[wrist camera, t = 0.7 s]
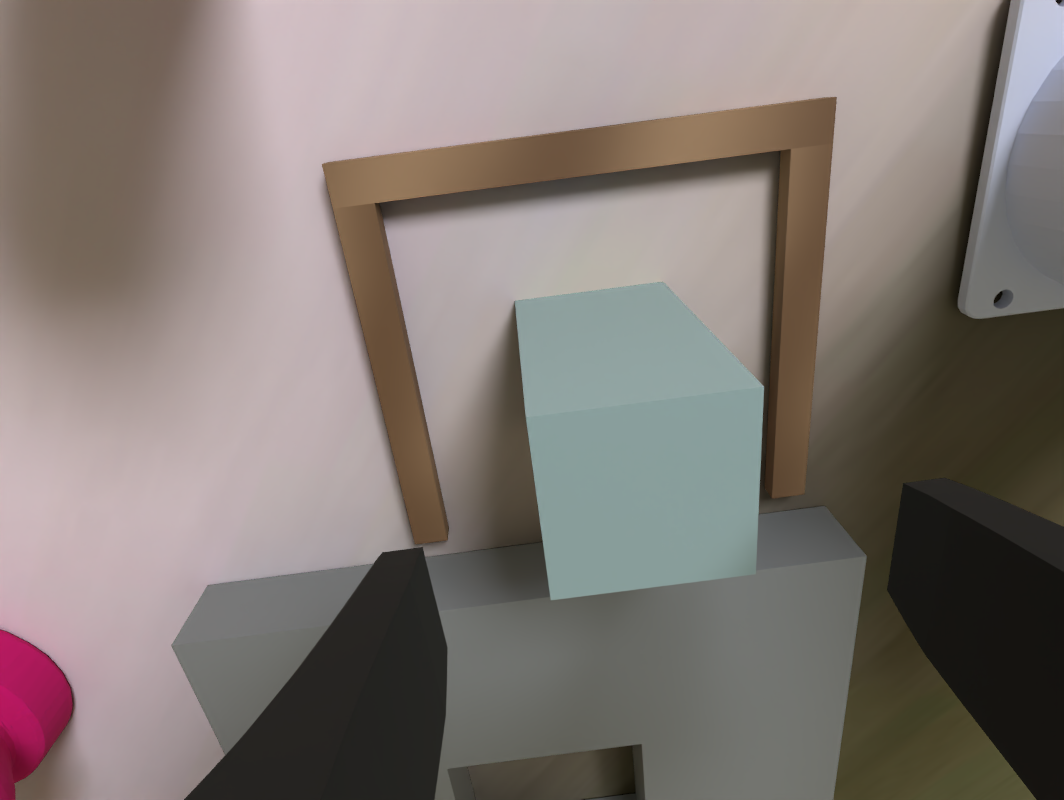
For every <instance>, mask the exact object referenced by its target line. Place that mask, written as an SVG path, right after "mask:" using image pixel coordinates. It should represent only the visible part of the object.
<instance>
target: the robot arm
mask: <svg viewBox="0 0 1064 800" xmlns="http://www.w3.org/2000/svg"><path fill="white" fill-rule="evenodd" d="M1000 291H1002V292H1003V294H1002V296H1001V299H1000V300H999V301H998V302H996V303H994V298H995V296H996V295H997V294H998V293H999V292H1000ZM958 308H959V310H960V312H961V313H963V314H965V315H967V316H969V317H971V318H974V319H983V318H991V317H999V316H1006V315H1014V314H1022V313H1030V312H1037V311H1045V310H1053V309H1061V308H1064V0H1062V2H1061V3H1060V4H1059V5H1058V4H1057V2H1056V0H1011V3H1010V9H1009V14H1008V20H1007V26H1006V31H1005V37H1004V42H1003V48H1002V54H1001V59H1000V65H999V71H998V76H997V82H996V88H995V93H994V99H993V105H992V110H991V116H990V121H989V127H988V133H987V138H986V144H985V150H984V155H983V161H982V167H981V172H980V178H979V183H978V189H977V195H976V200H975V206H974V212H973V217H972V223H971V229H970V234H969V240H968V246H967V251H966V257H965V262H964V268H963V274H962V279H961V285H960V291H959V296H958ZM887 591H888V592H889V594H890V596H891V598H892V599H893V601H894V603H895V605H896V607H897V608H898V610H899V612H900V614H901V615H902V617H903V619H904V621H905V623H906V624H907V626H908V628H909V629H910V631H911V632H912V634H913V636H914V637H915V639H916V641H917V642H918V644H919V646H920V647H921V649H922V650H923V652H924V653H925V655H926V656H927V658H928V659H929V660H930V662H931V663H932V664H933V666H934V667H935V668H936V670H937V671H938V672H939V674H940V675H941V676H942V678H943V679H944V680H945V681H946V683H947V684H948V685H949V687H950V688H951V689H952V691H953V692H954V693H955V695H956V696H957V697H958V699H959V700H960V701H961V702H962V704H963V705H964V706H965V708H966V709H967V710H968V712H969V713H970V714H971V715H972V717H973V718H974V719H975V721H976V722H977V723H978V724H979V726H980V727H981V728H982V730H983V731H984V732H985V733H986V735H987V736H988V737H989V739H990V740H991V741H992V742H993V744H994V745H995V746H996V748H997V749H998V750H999V752H1000V753H1001V754H1002V755H1003V757H1004V758H1005V759H1006V761H1007V762H1008V763H1009V764H1010V766H1011V767H1012V768H1013V770H1014V771H1015V772H1016V773H1017V775H1018V776H1019V777H1020V779H1021V780H1022V781H1023V783H1024V784H1025V785H1026V786H1027V788H1028V789H1029V790H1030V792H1031V793H1032V794H1033V795H1034V797H1035V798H1036V799H1037V800H1064V527H1063V526H1060V525H1058V524H1056V523H1054V522H1051V521H1049V520H1047V519H1044V518H1042V517H1040V516H1037V515H1035V514H1033V513H1031V512H1028V511H1026V510H1024V509H1021V508H1019V507H1017V506H1014V505H1012V504H1010V503H1007V502H1005V501H1003V500H1000V499H998V498H995V497H993V496H991V495H988V494H986V493H983V492H981V491H978V490H976V489H973V488H971V487H968V486H966V485H963V484H960V483H958V482H955V481H952V480H949V479H946V478H940V479H932V480H925V481H917V482H910V483H903V488H902V495H901V501H900V508H899V514H898V521H897V528H896V534H895V541H894V548H893V554H892V561H891V567H890V574H889V581H888V587H887ZM447 654H448V647H447V643H446V639H445V635H444V631H443V627H442V623H441V619H440V615H439V611H438V607H437V603H436V599H435V595H434V591H433V587H432V583H431V579H430V575H429V571H428V567H427V563H426V559H425V555H424V551H423V547H421V548H413V549H406V550H398V551H390V552H383V553H382V554H381V555H380V556H379V557H378V559H377V560H376V561H375V563H374V564H373V565H372V567H371V568H370V569H369V571H368V572H367V574H366V575H365V577H364V578H363V579H362V581H361V582H360V584H359V585H358V587H357V588H356V589H355V591H354V592H353V594H352V595H351V597H350V598H349V599H348V601H347V602H346V604H345V605H344V606H343V608H342V609H341V611H340V612H339V613H338V615H337V616H336V618H335V619H334V620H333V622H332V623H331V625H330V626H329V627H328V629H327V630H326V631H325V633H324V634H323V635H322V637H321V638H320V639H319V641H318V642H317V643H316V645H315V646H314V647H313V649H312V650H311V651H310V653H309V654H308V655H307V657H306V658H305V659H304V661H303V662H302V663H301V665H300V666H299V667H298V669H297V670H296V671H295V672H294V674H293V675H292V676H291V678H290V679H289V680H288V681H287V683H286V684H285V685H284V686H283V687H282V689H281V690H280V691H279V692H278V694H277V695H276V696H275V697H274V698H273V700H272V701H271V702H270V703H269V704H268V706H267V707H266V708H265V709H264V711H263V712H262V713H261V714H260V715H259V717H258V718H257V719H256V720H255V722H254V723H253V724H252V725H251V726H250V728H249V729H248V730H247V731H246V732H245V734H244V735H243V736H242V737H241V738H240V739H239V740H238V742H237V743H236V744H235V745H234V746H233V747H232V748H231V750H230V751H229V752H228V753H227V754H226V755H225V756H224V757H223V759H222V760H221V761H220V762H219V763H218V764H217V765H216V766H215V767H214V769H213V770H212V771H211V772H210V773H209V774H208V775H207V776H206V777H205V778H204V779H203V780H202V781H201V782H200V783H199V785H198V786H197V787H196V788H195V789H194V790H193V791H192V792H191V793H190V794H189V795H188V796H187V797H186V798H185V799H184V800H435V793H436V785H437V778H438V771H439V764H440V756H441V749H442V741H443V734H444V726H445V718H446V698H447Z"/></svg>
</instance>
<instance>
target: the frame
mask: <svg viewBox="0 0 1064 800" xmlns="http://www.w3.org/2000/svg"><path fill="white" fill-rule="evenodd" d="M836 99H837V97H826V98H817V99H809V100H802V101H794V102H786V103H779V104H771V105H763V106H756V107H748V108H740V109H733V110H725V111H717V112H710V113H702V114H694V115H687V116H679V117H671V118H664V119H656V120H648V121H641V122H633V123H625V124H618V125H610V126H602V127H595V128H587V129H579V130H572V131H564V132H556V133H549V134H541V135H533V136H526V137H518V138H510V139H503V140H495V141H487V142H480V143H472V144H464V145H457V146H449V147H441V148H434V149H426V150H418V151H411V152H403V153H395V154H388V155H380V156H372V157H365V158H357V159H349V160H342V161H334V162H327V163H324V164H322V167H323V171H324V175H325V179H326V183H327V187H328V191H329V195H330V199H331V203H332V207H333V211H334V216H335V220H336V224H337V228H338V232H339V236H340V240H341V244H342V248H343V252H344V256H345V260H346V264H347V269H348V273H349V277H350V281H351V285H352V289H353V293H354V297H355V301H356V305H357V309H358V313H359V317H360V321H361V326H362V330H363V334H364V338H365V342H366V346H367V350H368V354H369V358H370V362H371V366H372V370H373V374H374V379H375V383H376V387H377V391H378V395H379V399H380V403H381V407H382V411H383V415H384V419H385V423H386V427H387V432H388V436H389V440H390V444H391V448H392V452H393V456H394V460H395V464H396V468H397V472H398V476H399V480H400V485H401V489H402V493H403V497H404V501H405V505H406V509H407V513H408V517H409V521H410V525H411V529H412V533H413V538H414V542H415V544H422V543H430V542H438V541H446V540H448V532H449V526H448V522H447V517H446V512H445V508H444V503H443V498H442V494H441V489H440V484H439V480H438V475H437V470H436V466H435V461H434V456H433V452H432V447H431V442H430V438H429V433H428V428H427V423H426V419H425V414H424V409H423V405H422V400H421V395H420V391H419V386H418V381H417V377H416V372H415V367H414V363H413V358H412V353H411V349H410V344H409V339H408V335H407V330H406V325H405V321H404V316H403V311H402V307H401V302H400V297H399V293H398V288H397V283H396V279H395V274H394V269H393V265H392V260H391V255H390V251H389V246H388V241H387V236H386V232H385V227H384V222H383V218H382V213H381V208H380V204H379V203H380V202H388V201H395V200H403V199H411V198H418V197H426V196H434V195H441V194H449V193H457V192H464V191H472V190H480V189H487V188H495V187H503V186H510V185H518V184H526V183H533V182H541V181H549V180H556V179H564V178H572V177H580V176H587V175H595V174H603V173H610V172H618V171H626V170H633V169H641V168H649V167H656V166H664V165H672V164H679V163H687V162H695V161H702V160H710V159H718V158H725V157H733V156H741V155H748V154H756V153H764V152H772V151H779V150H781V152H780V173H779V194H778V215H777V236H776V257H775V278H774V298H773V319H772V340H771V361H770V382H769V403H768V424H767V444H766V465H765V486H764V488H765V489H766V491H767V492H768V493H769V495H770V496H771V498H780V497H787V496H795V495H803V494H805V482H806V470H807V458H808V445H809V433H810V420H811V408H812V396H813V383H814V371H815V359H816V346H817V334H818V321H819V309H820V297H821V284H822V272H823V260H824V247H825V235H826V222H827V210H828V198H829V185H830V173H831V160H832V148H833V136H834V123H835V111H836Z"/></svg>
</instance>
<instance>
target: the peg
mask: <svg viewBox="0 0 1064 800" xmlns="http://www.w3.org/2000/svg"><path fill="white" fill-rule="evenodd" d="M515 309H516V319H517V330H518V340H519V351H520V362H521V372H522V383H523V393H524V404H525V414H526V423H527V430H528V437H529V445H530V452H531V459H532V466H533V474H534V481H535V488H536V496H537V503H538V510H539V518H540V525H541V532H542V539H543V547H544V554H545V561H546V569H547V576H548V583H549V591H550V598H551V600H558V599H566V598H573V597H581V596H589V595H597V594H605V593H613V592H620V591H628V590H636V589H644V588H652V587H659V586H667V585H675V584H683V583H691V582H699V581H706V580H714V579H722V578H730V577H738V576H746V575H753V574H756V559H757V536H758V513H759V490H760V468H761V445H762V422H763V399H764V386H763V385H762V384H761V383H760V382H759V381H758V380H757V379H756V378H755V377H754V376H753V375H752V374H751V373H750V372H749V371H748V370H747V369H746V367H745V366H744V365H743V364H742V363H741V362H740V361H739V360H738V359H737V358H736V357H735V356H734V355H733V354H732V353H731V352H730V351H729V350H728V349H727V348H726V347H725V346H724V345H723V344H722V343H721V342H720V340H719V339H718V338H717V337H716V336H715V335H714V334H713V333H712V332H711V331H710V330H709V329H708V328H707V327H706V326H705V325H704V324H703V323H702V322H701V321H700V320H699V319H698V318H697V317H696V316H695V314H694V313H693V312H692V311H691V310H690V309H689V308H688V307H687V306H686V305H685V304H684V303H683V302H682V301H681V300H680V299H679V298H678V297H677V296H676V295H675V294H674V293H673V292H672V291H671V290H670V289H669V287H668V286H667V285H666V284H665V283H664V282H657V283H649V284H642V285H634V286H626V287H618V288H611V289H603V290H595V291H588V292H580V293H572V294H564V295H557V296H549V297H541V298H534V299H526V300H518V301H515Z"/></svg>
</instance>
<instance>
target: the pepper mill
mask: <svg viewBox="0 0 1064 800" xmlns="http://www.w3.org/2000/svg"><path fill="white" fill-rule="evenodd" d="M72 707H73V703H72V696H71V688H70V686H69V684H68V682H67V680H66V678H65V676H64V674H63V673H62V671H61V670H60V669H59V668H58V667H57V666H56V664H55V663H54V662H53V661H52V660H51V659H50V658H49V657H48V656H47V655H46V654H44V653H43V652H41V651H40V650H39V649H37V648H36V647H34V646H33V645H31V644H30V643H28V642H26V641H24V640H22V639H20V638H18V637H16V636H14V635H12V634H10V633H8V632H6V631H2V630H0V800H15V785H14V783H16V782H18V781H20V780H22V779H24V778H26V777H27V776H28V775H30V774H31V773H32V772H33V771H34V770H35V769H36V768H37V767H38V765H39V764H40V762H41V761H42V760H43V758H44V757H45V755H46V754H47V752H48V751H49V749H50V748H51V747H52V745H53V744H54V742H55V741H56V739H57V738H58V736H59V735H60V734H61V732H62V731H63V729H64V728H65V726H66V725H67V723H68V721H69V719H70V717H71V712H72Z"/></svg>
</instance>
